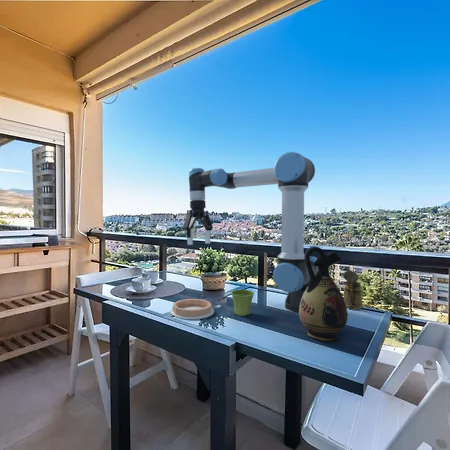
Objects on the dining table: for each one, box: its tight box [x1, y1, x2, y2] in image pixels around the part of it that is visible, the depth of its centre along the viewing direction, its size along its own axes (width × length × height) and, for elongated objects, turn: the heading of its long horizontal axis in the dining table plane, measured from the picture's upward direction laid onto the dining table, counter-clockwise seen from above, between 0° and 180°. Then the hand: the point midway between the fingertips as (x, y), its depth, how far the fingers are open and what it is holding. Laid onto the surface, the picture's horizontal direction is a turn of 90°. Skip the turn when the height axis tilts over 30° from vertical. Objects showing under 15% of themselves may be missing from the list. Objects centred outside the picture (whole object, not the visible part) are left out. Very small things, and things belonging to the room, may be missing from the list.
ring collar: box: [169, 298, 215, 320], centre depth 120 cm, size 18×18×3 cm
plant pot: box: [230, 289, 255, 317], centre depth 119 cm, size 9×9×9 cm
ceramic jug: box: [298, 246, 349, 342], centre depth 98 cm, size 17×15×30 cm
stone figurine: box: [342, 269, 364, 310], centre depth 128 cm, size 9×14×18 cm, turn 147°
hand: (199, 244), depth 141 cm, fingers open, 13 cm apart
